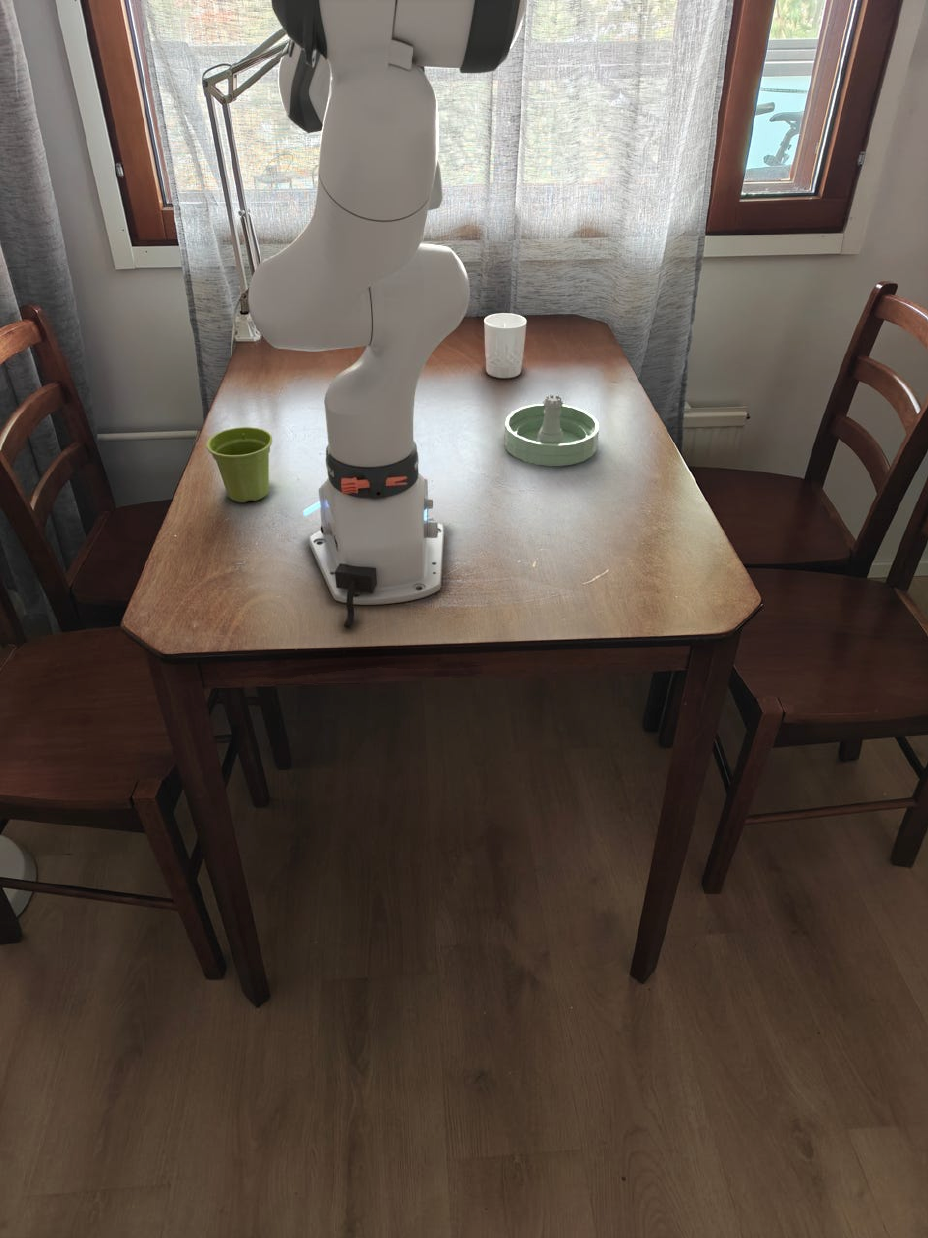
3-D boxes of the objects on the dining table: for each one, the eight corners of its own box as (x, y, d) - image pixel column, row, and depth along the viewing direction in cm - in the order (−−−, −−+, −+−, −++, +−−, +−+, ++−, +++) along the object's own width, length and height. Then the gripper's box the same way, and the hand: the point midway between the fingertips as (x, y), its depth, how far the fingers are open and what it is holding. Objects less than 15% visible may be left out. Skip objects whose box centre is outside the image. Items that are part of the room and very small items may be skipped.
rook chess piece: (563, 437, 146) (567, 392, 141) (563, 450, 142) (567, 404, 138) (536, 436, 146) (539, 391, 141) (536, 448, 143) (538, 402, 138)
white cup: (520, 381, 166) (523, 329, 159) (479, 377, 167) (480, 325, 161) (526, 365, 172) (529, 314, 165) (487, 362, 173) (488, 311, 167)
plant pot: (203, 499, 131) (192, 446, 125) (243, 472, 137) (235, 421, 132) (253, 515, 127) (244, 461, 122) (292, 486, 134) (285, 434, 128)
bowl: (608, 465, 140) (611, 441, 137) (515, 472, 138) (516, 448, 135) (581, 423, 152) (583, 400, 149) (496, 430, 149) (496, 407, 147)
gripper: (343, 156, 114) (357, 268, 122) (446, 138, 127) (453, 240, 134) (311, 155, 118) (326, 264, 125) (414, 138, 130) (422, 237, 138)
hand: (392, 251), depth 130 cm, fingers open, 8 cm apart
